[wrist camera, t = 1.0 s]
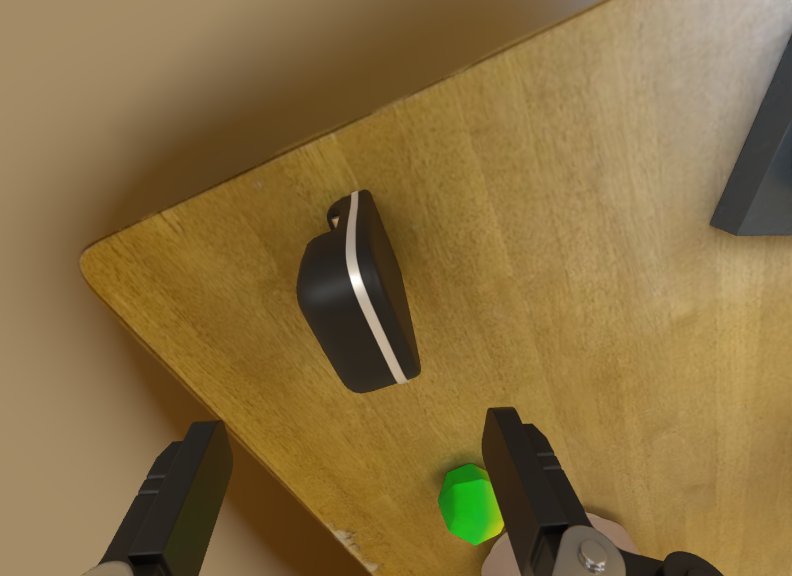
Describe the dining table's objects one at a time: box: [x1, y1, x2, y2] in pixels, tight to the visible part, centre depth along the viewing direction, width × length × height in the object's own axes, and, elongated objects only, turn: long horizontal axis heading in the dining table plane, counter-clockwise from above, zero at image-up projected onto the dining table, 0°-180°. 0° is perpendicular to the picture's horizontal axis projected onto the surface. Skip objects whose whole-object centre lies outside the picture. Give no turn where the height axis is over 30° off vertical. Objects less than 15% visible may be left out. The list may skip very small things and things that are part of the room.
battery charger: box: [296, 190, 421, 393], centre depth 20 cm, size 7×4×11 cm, turn 19°
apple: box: [438, 463, 504, 546], centre depth 36 cm, size 7×6×9 cm
